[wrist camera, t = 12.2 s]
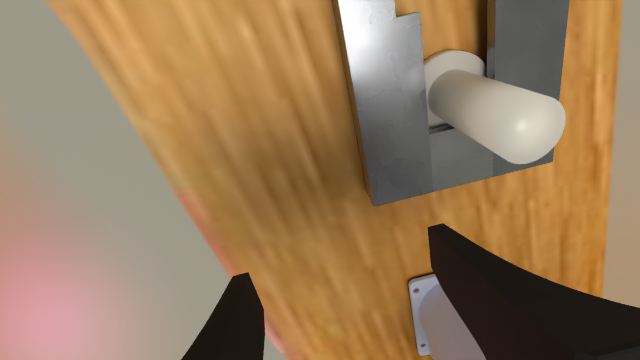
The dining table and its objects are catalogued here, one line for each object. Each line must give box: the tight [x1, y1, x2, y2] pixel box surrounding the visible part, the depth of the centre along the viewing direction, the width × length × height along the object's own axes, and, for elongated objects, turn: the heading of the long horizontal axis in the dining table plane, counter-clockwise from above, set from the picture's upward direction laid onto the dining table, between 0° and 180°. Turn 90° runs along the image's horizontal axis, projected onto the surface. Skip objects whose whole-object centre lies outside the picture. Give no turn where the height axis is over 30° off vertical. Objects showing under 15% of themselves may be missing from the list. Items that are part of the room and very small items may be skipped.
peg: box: [424, 50, 566, 164], centre depth 18 cm, size 5×5×8 cm
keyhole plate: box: [332, 0, 569, 207], centre depth 18 cm, size 20×12×2 cm, turn 13°
